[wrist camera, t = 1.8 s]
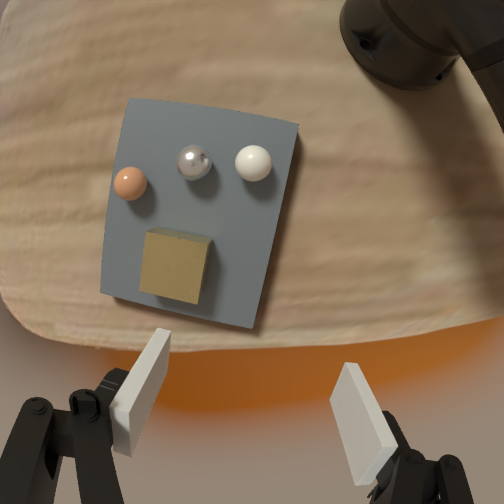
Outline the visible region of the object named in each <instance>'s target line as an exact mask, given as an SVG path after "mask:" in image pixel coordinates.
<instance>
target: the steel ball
mask: <svg viewBox="0 0 504 504" xmlns="http://www.w3.org/2000/svg"><path fill="white" fill-rule="evenodd" d="M211 165H212V160H211V156H210V154H209V152H208V151H207V150H206V149H205V148H203V147H201V146H198V145H190V146H187V147H185V148H183V149H182V150H181V151H180V152H179V154H178V155H177V158H176V169H177V171H178V173H179V174H180V175H181V176H182V177H183V178H185V179H187V180H191V181H196V180H200V179H202V178H204V177H205V176H206V175H207V174H208V173H209V171H210V169H211Z"/></svg>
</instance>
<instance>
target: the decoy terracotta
mask: <svg viewBox="0 0 504 504" xmlns="http://www.w3.org/2000/svg"><path fill="white" fill-rule="evenodd" d="M146 187H147V179H146V176H145V174H144V173H143V172H142V171H141V170H140V169H139V168H136V167H126V168H123V169H122V170H120V171H119V172H118V173H117V175H116V177H115V179H114V190H115V192H116V194H117V195H118V196H119V197H120V198H121V199H123V200H126V201H133V200H136V199H138V198H140V197H141V196H142V195H143V194H144V192H145V190H146Z"/></svg>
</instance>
